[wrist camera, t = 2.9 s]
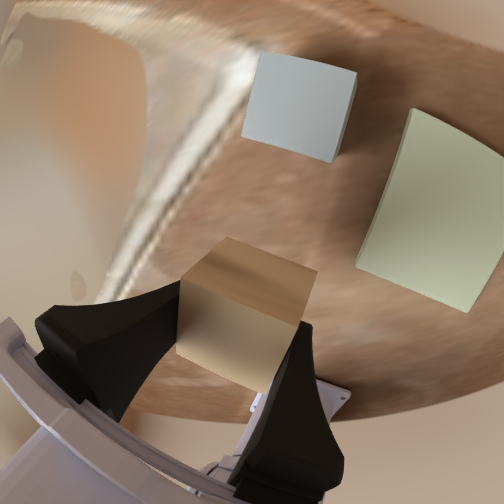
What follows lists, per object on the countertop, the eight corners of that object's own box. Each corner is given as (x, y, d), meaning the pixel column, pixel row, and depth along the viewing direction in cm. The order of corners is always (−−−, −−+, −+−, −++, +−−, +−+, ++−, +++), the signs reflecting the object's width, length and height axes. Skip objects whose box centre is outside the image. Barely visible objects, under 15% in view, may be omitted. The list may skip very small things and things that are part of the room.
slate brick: (337, 155, 15) (331, 163, 12) (266, 133, 16) (241, 136, 13) (357, 85, 13) (357, 72, 10) (283, 66, 14) (261, 51, 11)
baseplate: (463, 303, 16) (466, 313, 15) (356, 258, 17) (355, 267, 16) (524, 175, 11) (533, 179, 10) (410, 109, 12) (413, 107, 11)
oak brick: (288, 338, 15) (264, 395, 11) (213, 306, 16) (176, 353, 12) (317, 271, 13) (298, 327, 9) (227, 236, 13) (181, 276, 10)
